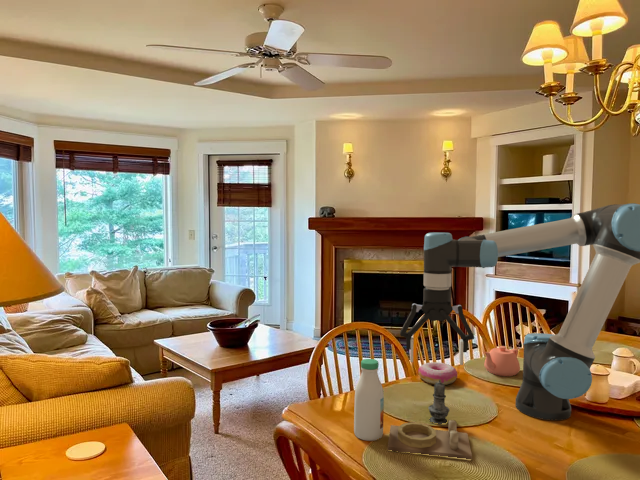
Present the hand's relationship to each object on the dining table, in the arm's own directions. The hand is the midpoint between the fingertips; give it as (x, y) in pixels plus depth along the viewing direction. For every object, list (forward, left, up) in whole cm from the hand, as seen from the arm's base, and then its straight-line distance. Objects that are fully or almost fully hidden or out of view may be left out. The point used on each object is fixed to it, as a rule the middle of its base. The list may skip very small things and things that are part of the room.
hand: (436, 362), depth 134 cm
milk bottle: (+17, +13, -17) cm, 28 cm away
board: (+2, +15, -17) cm, 22 cm away
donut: (-2, -34, -17) cm, 38 cm away
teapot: (-25, -48, -17) cm, 57 cm away
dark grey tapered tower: (-1, 0, -17) cm, 17 cm away
